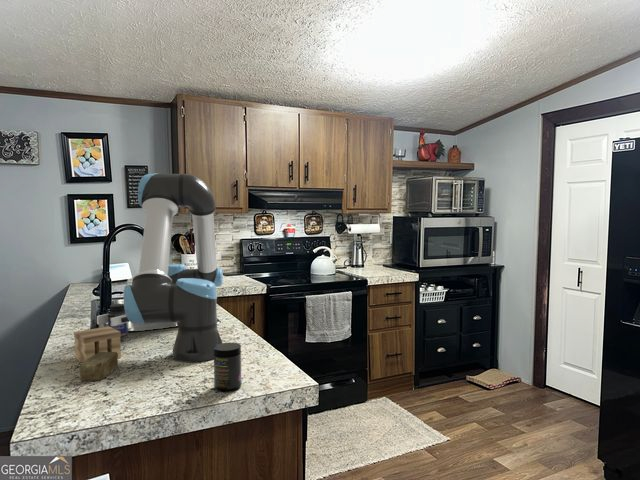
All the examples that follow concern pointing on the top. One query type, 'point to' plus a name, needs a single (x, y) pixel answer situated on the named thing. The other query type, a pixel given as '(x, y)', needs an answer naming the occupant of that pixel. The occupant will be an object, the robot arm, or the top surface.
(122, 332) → the pill bottle
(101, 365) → the stone block
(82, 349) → the block
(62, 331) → the top surface
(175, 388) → the top surface
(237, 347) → the supplement container
